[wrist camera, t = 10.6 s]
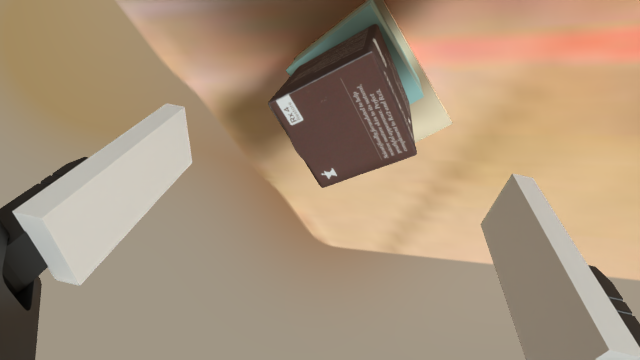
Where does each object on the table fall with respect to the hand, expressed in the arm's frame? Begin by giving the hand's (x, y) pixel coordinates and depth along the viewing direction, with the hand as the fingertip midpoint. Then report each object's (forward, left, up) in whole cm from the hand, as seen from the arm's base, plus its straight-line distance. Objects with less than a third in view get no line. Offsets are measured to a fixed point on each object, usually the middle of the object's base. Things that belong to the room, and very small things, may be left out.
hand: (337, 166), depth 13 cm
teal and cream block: (+3, 0, -16) cm, 17 cm away
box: (0, 0, -12) cm, 12 cm away
